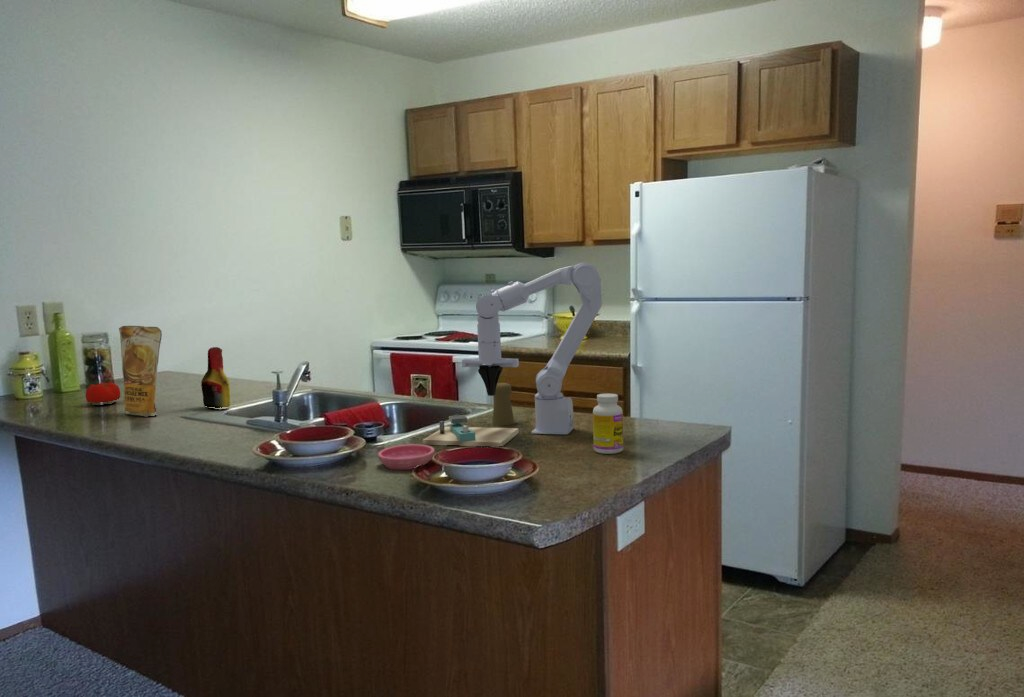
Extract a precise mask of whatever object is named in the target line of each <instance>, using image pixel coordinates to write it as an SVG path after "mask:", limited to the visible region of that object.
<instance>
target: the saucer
mask: <svg viewBox="0 0 1024 697" xmlns="http://www.w3.org/2000/svg"><path fill="white" fill-rule="evenodd" d="M435 455H436V451H435V448H434V447H433V446H432V445H423V444H420V443H419V444H417V443H416V444H414V443H413V444H399V445H393V446H389V447H387V448H383V449H381V450H380V451H379V452H378V453H377V459H378V460H379V461H380V463H381V464H383V465H384V466H385V467H386V468H388V469H389V470H390V469H391V470H400V471H403V470H404V471H405V470H414V469H413V468H414V467H416V466H417V465H420V464H423V463H425V462H428V461H429V462H430V460H432V459H433V457H434V456H435Z"/></svg>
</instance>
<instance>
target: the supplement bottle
mask: <svg viewBox="0 0 1024 697" xmlns="http://www.w3.org/2000/svg"><path fill="white" fill-rule="evenodd" d="M596 401H597V405H595V406H594V408H593V410H592V423H593V424H592V426H593V427H592V430H593V450H594V452H596V453H597V454H603V455H615V454H619V453H622V451H623V450H624V427H623V426H624V424H623V420H624V419H623V418H624V417H623V413H624V412H623V409H622V407H621V406H620V405H619V404H618V401H619V395H618V394H617V393H599V394H597V395H596Z"/></svg>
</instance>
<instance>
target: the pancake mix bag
mask: <svg viewBox="0 0 1024 697" xmlns="http://www.w3.org/2000/svg"><path fill="white" fill-rule="evenodd" d="M118 330H119V337H120V349H121V350H120V352H121V353H120V354H121V372H122V376H123V377H122V379H123V384H124V386H123V387H124V388H123V389H124V390H123V391H124V412H125V411H129V412H137V413H155V412H156V410H157V408H156V403H155V398H156V389H157V388H156V386H157V376H158V365H159V357H160V356H159V355H160V347H161V344H162V343H161V342H162V337H163V336H162V334H163V333H162V329H160V328H159V327H158V326H143V325H142V326H141V325H122V326H120V327H118Z"/></svg>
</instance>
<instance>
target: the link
mask: <svg viewBox="0 0 1024 697" xmlns="http://www.w3.org/2000/svg"><path fill="white" fill-rule="evenodd" d="M462 426H463V425H462V423H460V424H457V425H453V424H450V425H449V427H450V431H451V432H453V433H454V434H455V435H456V438H457V439H458V440H459V441H469V440H475V432H474V431H473V430H472V429H470V430H468V431H469V432H468V433H463V427H462Z"/></svg>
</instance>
